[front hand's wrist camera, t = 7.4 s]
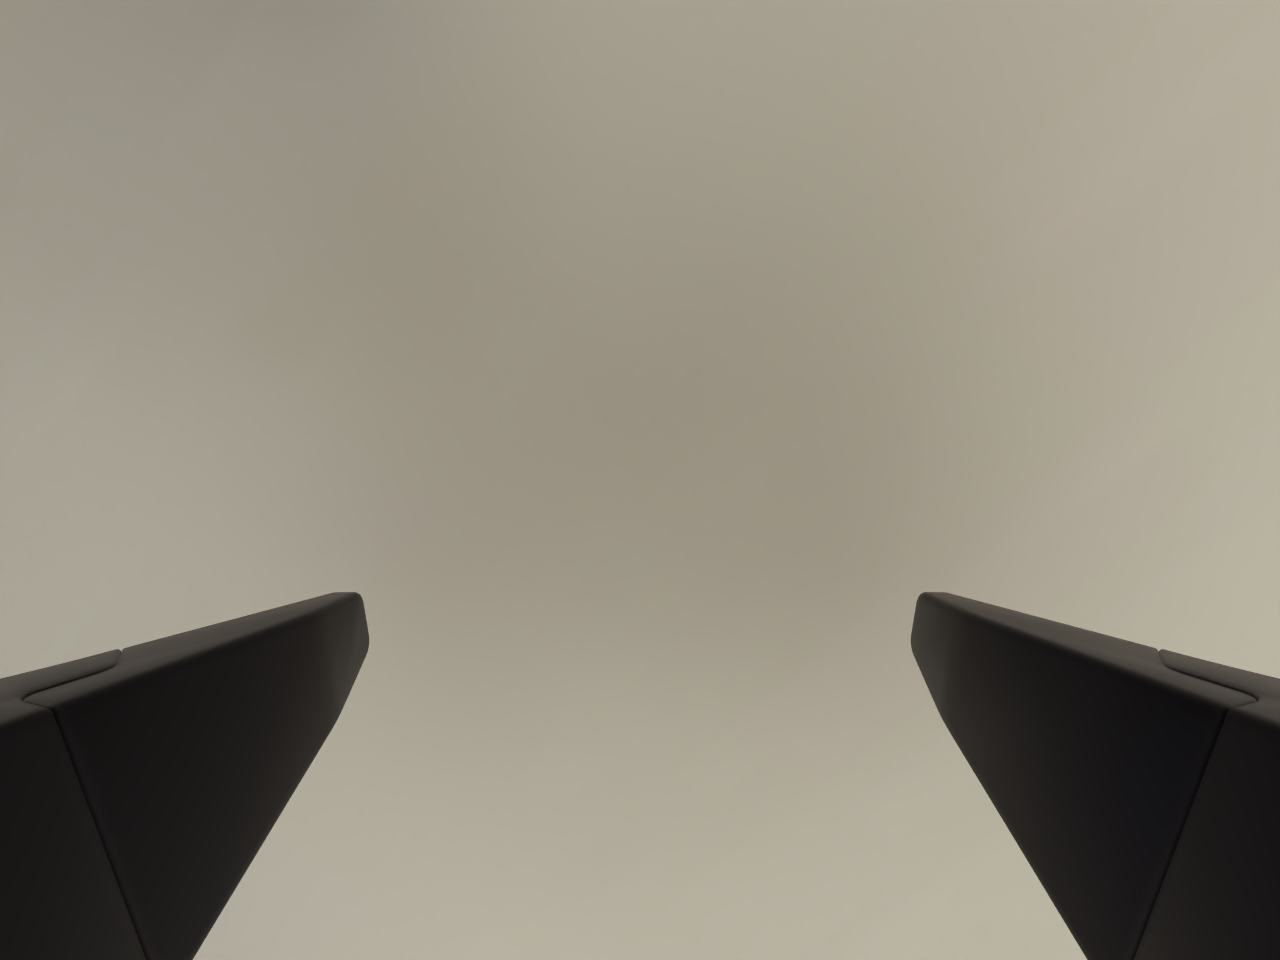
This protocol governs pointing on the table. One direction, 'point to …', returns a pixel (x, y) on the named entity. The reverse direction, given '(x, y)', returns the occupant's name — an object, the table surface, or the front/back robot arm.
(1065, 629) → the front robot arm
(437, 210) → the table surface
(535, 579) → the table surface
